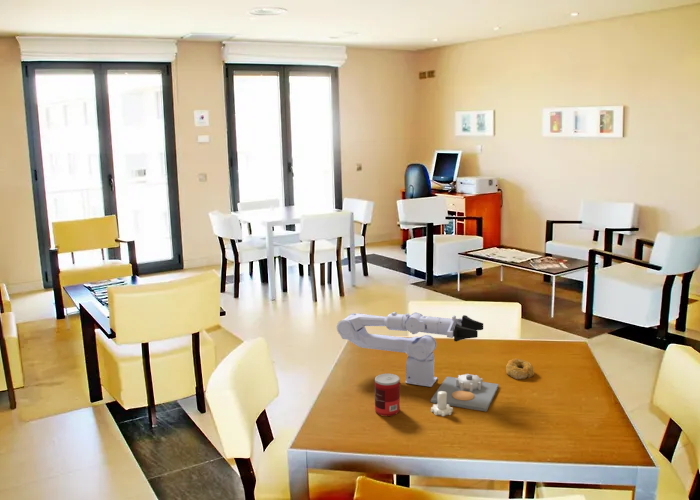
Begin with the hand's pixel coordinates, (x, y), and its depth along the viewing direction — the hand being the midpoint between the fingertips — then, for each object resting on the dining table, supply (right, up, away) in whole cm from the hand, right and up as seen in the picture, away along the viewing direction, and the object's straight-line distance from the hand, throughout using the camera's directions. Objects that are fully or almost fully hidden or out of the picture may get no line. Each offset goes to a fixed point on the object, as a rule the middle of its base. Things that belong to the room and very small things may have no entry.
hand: (480, 330), depth 212 cm
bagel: (+18, -18, +18) cm, 31 cm away
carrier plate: (-5, -22, +2) cm, 22 cm away
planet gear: (-14, -24, -10) cm, 30 cm away
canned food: (-31, -24, -9) cm, 41 cm away
